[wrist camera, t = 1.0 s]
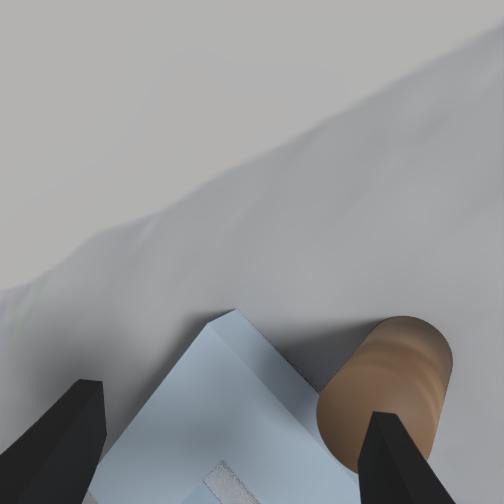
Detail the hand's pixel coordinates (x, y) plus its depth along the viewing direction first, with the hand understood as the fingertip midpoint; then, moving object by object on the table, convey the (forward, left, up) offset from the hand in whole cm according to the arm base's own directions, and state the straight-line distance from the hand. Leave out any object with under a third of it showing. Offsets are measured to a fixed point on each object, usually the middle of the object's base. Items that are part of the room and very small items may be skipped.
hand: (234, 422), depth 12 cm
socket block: (-3, +13, -12) cm, 18 cm away
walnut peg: (-3, 0, -12) cm, 12 cm away
